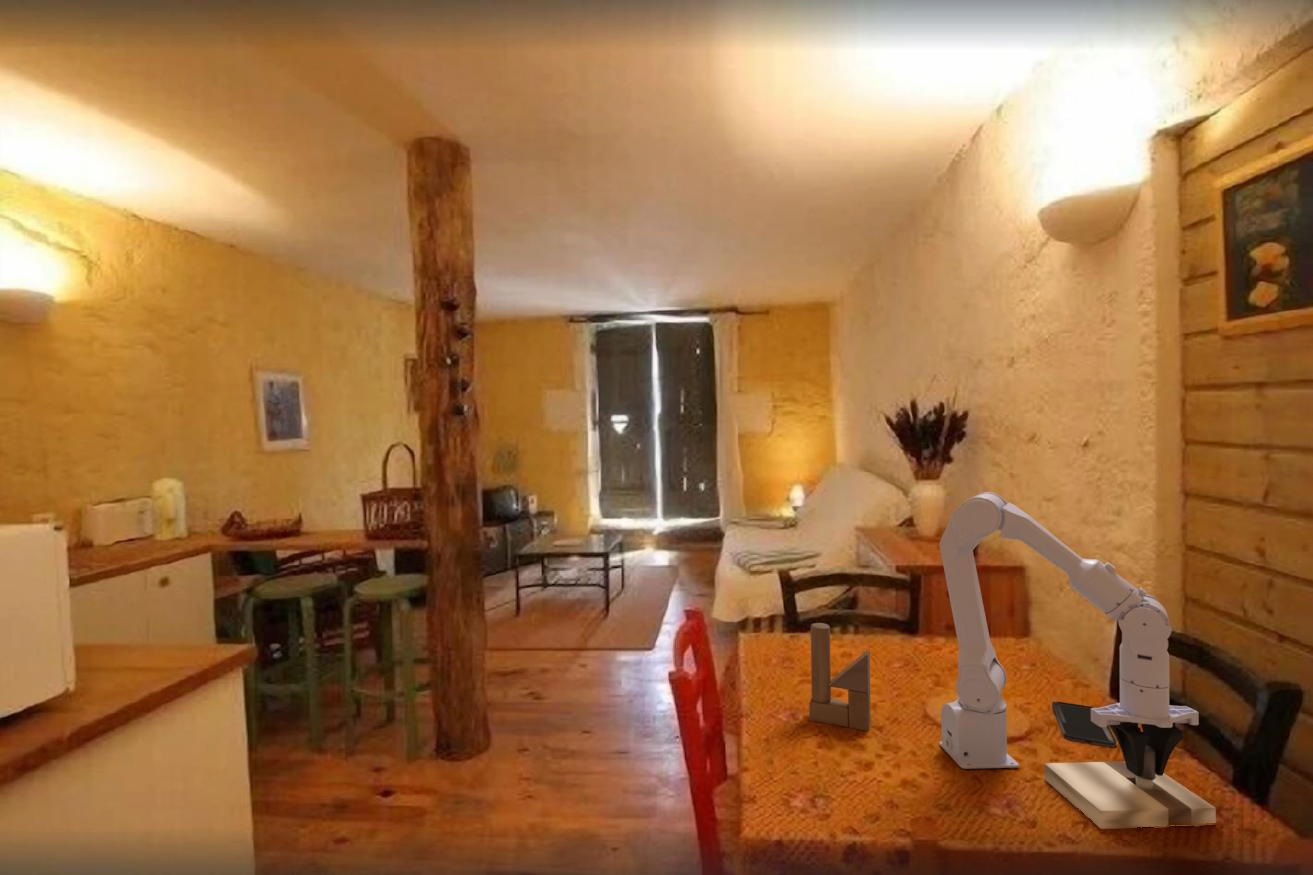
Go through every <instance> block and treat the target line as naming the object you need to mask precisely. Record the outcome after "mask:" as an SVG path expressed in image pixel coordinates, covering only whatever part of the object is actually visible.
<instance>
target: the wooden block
mask: <svg viewBox="0 0 1313 875" xmlns="http://www.w3.org/2000/svg"><path fill="white" fill-rule="evenodd" d="M870 650H871V649H870V648H868V649H867V650H865V651H864V652H863V653H862V654H860V655H859V656H858V657H857V658H856V659H854V660H853V661H851V662H850V663H849V664H848V665H847V666H846V667H845V668H843V669H842V670H841V671H840V672H839V673H837V674H836V675H835V676H833V677H831V674H832V672H831V627H830V625H829V624H827V623H823V622H816V623H815V622H814V623H811V625H810V663H811V664H810V665H811V666H810V669H811V671H810V672H811V679H810V680H811V682H810V683H811V684H810V685H811V699H810V701H809V703H808V705H809V708H808V711H809V712H808V713H809V721H812V722H818V723H823V724H829V725H834V726H838V727H843V728H844V727H845V728H848V727H849V728H850V729H853V730H854V729H855V730H860V731H865V732H869V731H870V727H871V723H872V720H871V718H872V717H871V687H870V686H871V664H870V663H871V661H870V660H871V658H870V657H871V654H870V652H871V651H870ZM831 688H835V689H836V688H837V689H841V690H847V691H848V692H847V696H848V697H847V700H848V701H847V702H848V703H846V702H845V701H843V700H842V699H838V698H832V690H831Z"/></svg>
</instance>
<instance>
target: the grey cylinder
mask: <svg viewBox="0 0 1313 875" xmlns="http://www.w3.org/2000/svg"><path fill="white" fill-rule="evenodd" d="M1155 778H1156V761H1155V749H1154V748H1152V747H1151V746H1148V745H1146V748H1145V752H1144V767H1143V774H1142V776H1136V786H1137V787H1139V788H1140V789H1141V790H1153V780H1154V779H1155Z"/></svg>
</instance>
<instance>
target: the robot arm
mask: <svg viewBox="0 0 1313 875" xmlns="http://www.w3.org/2000/svg"><path fill="white" fill-rule="evenodd" d="M996 531H1000V533H999V535H998V538H1001V539H1009V540H1010V539H1012V540H1017V541H1021V542H1023V543H1024V544H1025V545H1027V546H1028V547H1030V548H1031V549H1032V550H1034V551H1035V552H1036V553H1038V554H1039V555H1041V556H1042V557H1043V558H1045V559H1047V561H1049V562H1051V563H1052V564H1053V565H1055V566H1056V567H1057V568H1059V569H1060V570H1061V571H1062V572H1064V573H1066V574H1067V577H1068V584H1069V587H1070V588H1072V589H1073V590H1074V591H1075V592H1077V593H1078V594H1079V595H1081V596H1082V597H1083V598H1084V599H1085V600H1087V601H1088V602H1089V603H1090V604H1092V605H1093V606H1095V607H1096V608H1097V609H1098V610H1099V611H1101V612H1102V613H1104V614H1105V615H1106V616H1107V617H1109V618H1112V619H1114V620H1116V621H1118V622H1117V623H1118V626H1119V628H1120V631H1121V643H1120V645H1119V702H1116V703H1113V704H1109V705H1105V706H1102V707H1095V708H1091V721H1092V722H1093V723H1095V724H1096V725H1098V726H1099V727H1107V725H1108V727H1109V728H1110V730H1111V732H1113V733H1112V734H1113V735H1114V737H1115V739H1116V741H1117V742H1118V745H1119V747H1120V750H1121V752H1122V756H1123V760H1124V761H1125V763H1126V767H1127V769H1128V770H1129V771H1130V772H1132V773H1133V774H1135V775H1136V776H1142V774H1143V767H1144V752H1145V748H1146V745H1148V746H1151V747H1152V748H1154V749H1155V761H1156V774H1157V775H1158V776H1163V773H1164V774H1165V770H1166V767H1167V764H1168V761H1169V759H1170V756H1171V755H1172V752H1173V751H1174V750H1175V748H1176V747H1177V746H1178V744H1179V743H1180V742H1181V741H1183V739H1184V731H1183V730H1182V729H1180V728H1179V727H1176V724H1189V725H1191V726H1198V725H1199V724H1200V723H1199V711H1197V710H1195V709H1193V708H1191V707H1189V706H1187V705H1181V706H1180V705H1172V704H1171V705H1170V654H1169V652H1168V648H1169V638H1170V636H1171V634H1172V630H1173V627H1172V626H1171V624H1170V619H1169V615H1168V613H1167V610H1166V608H1165V607H1164V606H1163V604H1162V603H1161V602H1159V601H1158V599H1157V597H1155V596H1153V595H1150V594H1147V591H1146V590H1145V589H1144V588H1142V587H1139V588H1137V587H1135V586H1134V585H1132V583H1130V582H1129V581H1128V580H1126V579H1124V578H1123V577H1122V576H1121V575H1119V574H1118V573H1117V572H1115V571H1116V566H1114V565H1113V564H1112V563H1110V562H1106V563H1105V564H1104V563H1103V562H1102V561H1100V560H1099V559H1097V558H1096V559H1094V558H1093V559H1092V558H1091V559H1089V558H1083V557H1081V556H1080V555H1079V554H1077V553H1076V552H1075V551H1074V550H1072V548H1070V547H1069V546H1068V545H1066V544H1065V543H1064V542H1063V541H1061V540H1060V539H1059V538H1057V537H1056V535H1054V534H1053V533H1051V532H1050V531H1049V530H1048V529H1047V528H1045V527H1044V526H1042V524H1040V523H1039V522H1038V521H1037V520H1036V519H1034V518H1033V517H1032V516H1030V515H1029V514H1028V513H1026V512H1025V511H1023V510H1022V509H1021V508H1020V507H1018V506H1017V505H1015V504H1013V503H1011V502H1007V501H1006V500H1005V499H1004V498H1003V497H1002V496H1001V495H999V494H997V493H995V492H991V491H983V492H980V493H977V494H976V495H974V496H972V497H970V498H968V499H965V501H963V502H962V503H961V504H959V506H957V508H956V509H954V511H953V512H952V514H951V517H950V519H949V522H948V523H947V525H946V528H945V530H944V532H943V534H942V537H941V538H940V540H939V549H940V554H941V560H942V565H943V569H944V571H943V572H944V576H945V580H946V586H947V591H948V597H949V602H950V607H951V608H950V609H951V613H952V618H953V623H954V628H955V634H956V638H957V639H956V640H957V644H958V656H957V657H958V658H957V668H958V678H957V680H956V684H955V687H956V688H955V690H956V694H957V699H956V700H954V701H952V702H948V703H944V704H943V705H942V707H941V711H940V712H941V715H940V717H941V720H940V722H941V741H939V745H940V747H941V748H942V749H943V750H944V751H945V752H946V753H947V754H948V755H949V756H950V758H951V759H952V760H953V761H954V762H955V763H956V764H957V765H958V766H959V767H960V768H961V769H967V770H968V769H969V770H971V769H1003V768H1005V769H1007V768H1016V769H1017V768H1019V767H1020V764H1019V763H1018V762H1017V761H1016V760H1015V759H1014V758H1012V756H1010V754H1008V745H1007V744H1008V741H1007V740H1008V737H1007V730H1008V729H1007V727H1008V725H1007V722H1008V721H1007V702H1006V701H1005V700H1004V698H1003V695H1002V694H1001V693H1002V690H1003V689H1004V688H1005V686H1006V684H1007V680H1008V679H1007V677H1008V676H1007V673H1006V670H1005V669H1004V667H1003V666H1002V665H1003V664H1001V663H1000V661H999V660H998V657H997V654H996V649H995V647H994V645H993V644H992V643H991V638H990V633H989V628H988V627H989V626H988V623H987V617H986V616H987V615H986V611H985V606H984V603H983V598H982V597H983V596H982V592H981V586H980V581H979V577H978V571H977V566H976V560H975V556H974V551H973V550H974V549H975V548H976V547H977V546H978V544H980V543H981V542H982V540H983V539H985V538H986V537H989V536H990V535H992V534H993V533H995V532H996ZM1139 725H1140V727H1139Z"/></svg>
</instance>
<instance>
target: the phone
mask: <svg viewBox="0 0 1313 875" xmlns="http://www.w3.org/2000/svg"><path fill="white" fill-rule="evenodd" d="M1051 705H1052V706H1051V707H1052V711H1053V714H1054V716H1055V719H1056V721H1057V724H1058V727H1059V729H1060V733H1061V735H1062V737H1063V738H1064V739H1065V740H1068V741H1071V742H1079V743H1084V744H1089V745H1093V746H1094V745H1096V746H1102V747H1107V748H1114V747H1113V746H1116V747H1117V739H1116V737H1115V735H1114V733H1112V732H1113V731H1112V729H1111V727H1110V726H1109V725H1107V727H1099V726H1098V725H1096V724H1095V723H1093V722H1092V721H1091V708H1096V707H1095V706H1089V705H1082V704H1076V703H1070V702H1064V701H1057V700H1056V701H1052V703H1051Z"/></svg>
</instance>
